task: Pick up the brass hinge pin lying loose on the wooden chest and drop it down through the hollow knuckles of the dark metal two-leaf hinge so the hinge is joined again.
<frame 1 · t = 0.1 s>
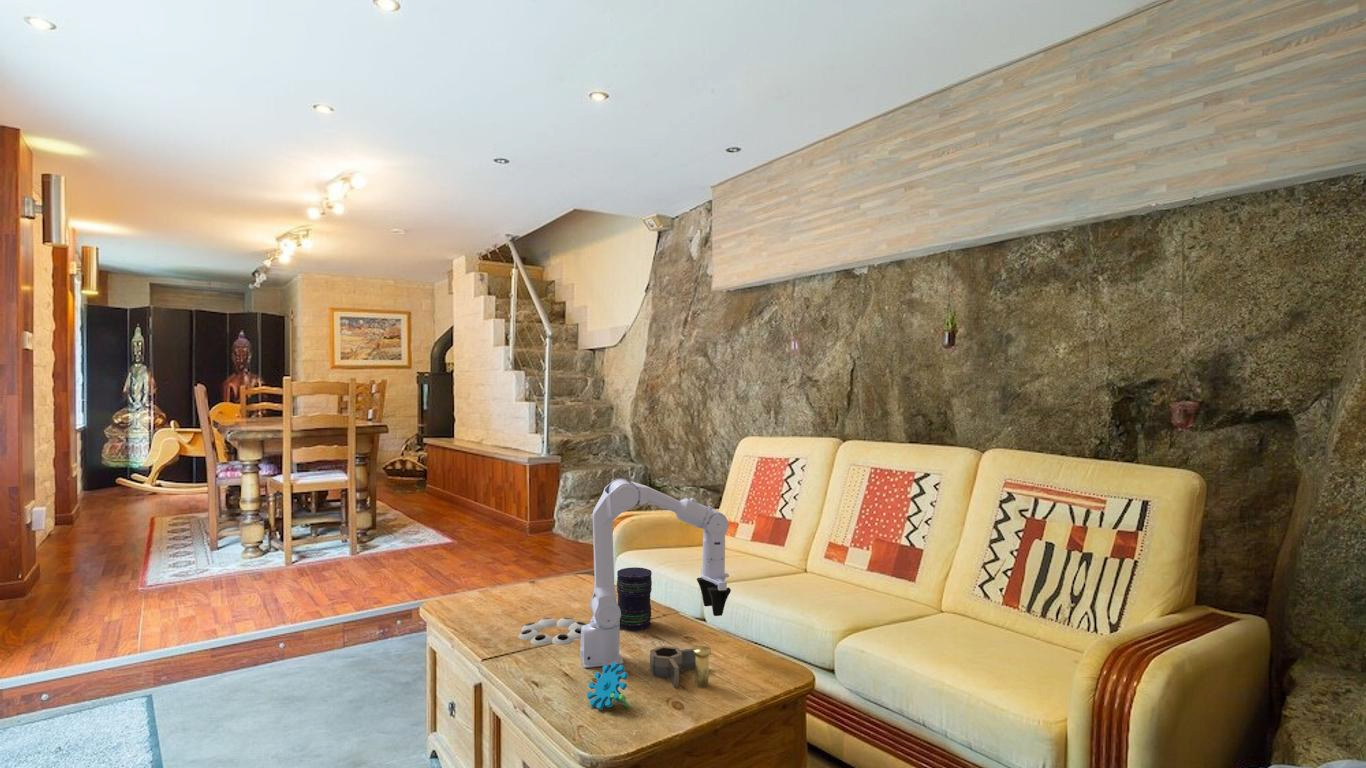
hand: (712, 610, 175), 10 cm above the table, tool pointing down, fingers open, 7 cm apart
storage jar: (633, 625, 192), on the table
hinge pin: (701, 684, 155), on the table
ring: (554, 634, 186), on the table
hinge: (666, 671, 162), on the table
gear: (608, 705, 145), on the table
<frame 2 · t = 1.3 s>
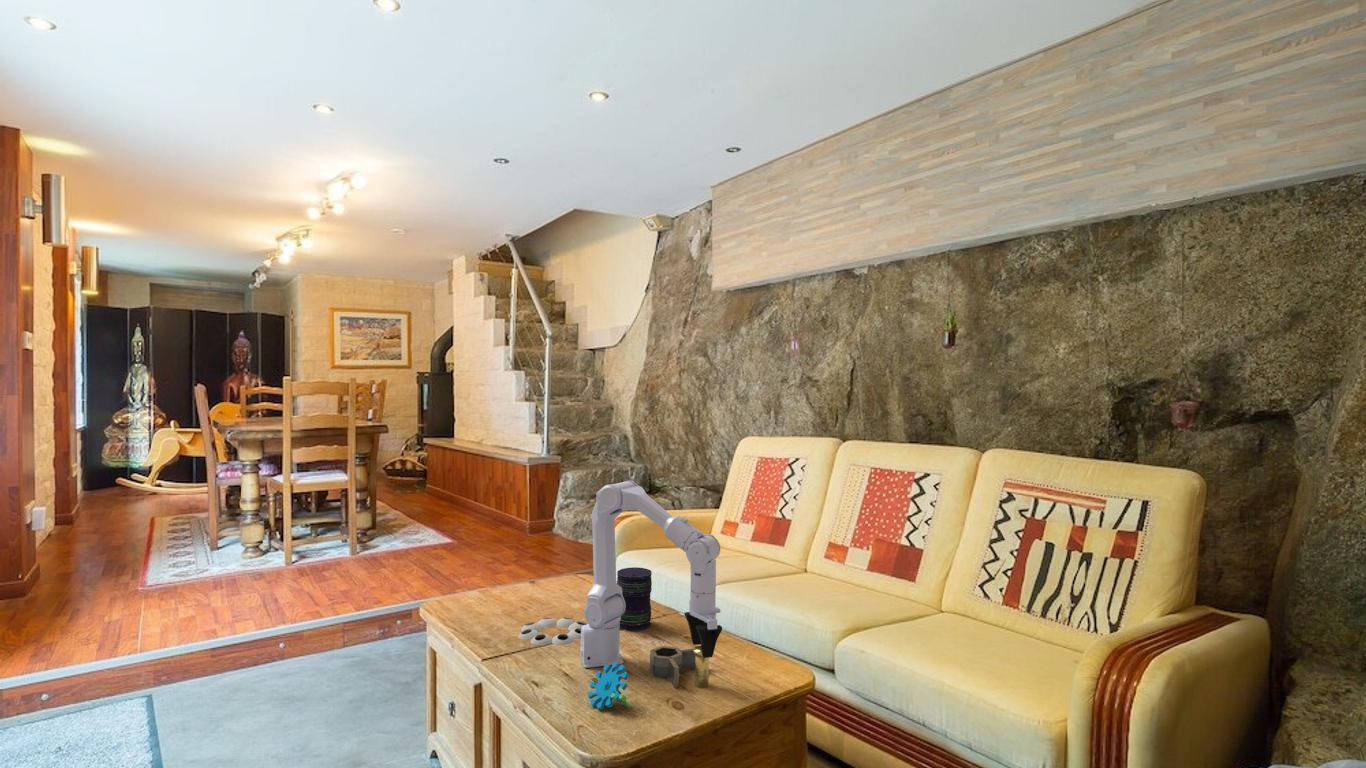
hand: (702, 650, 155), 8 cm above the table, tool pointing down, fingers open, 7 cm apart
nothing on the table moved.
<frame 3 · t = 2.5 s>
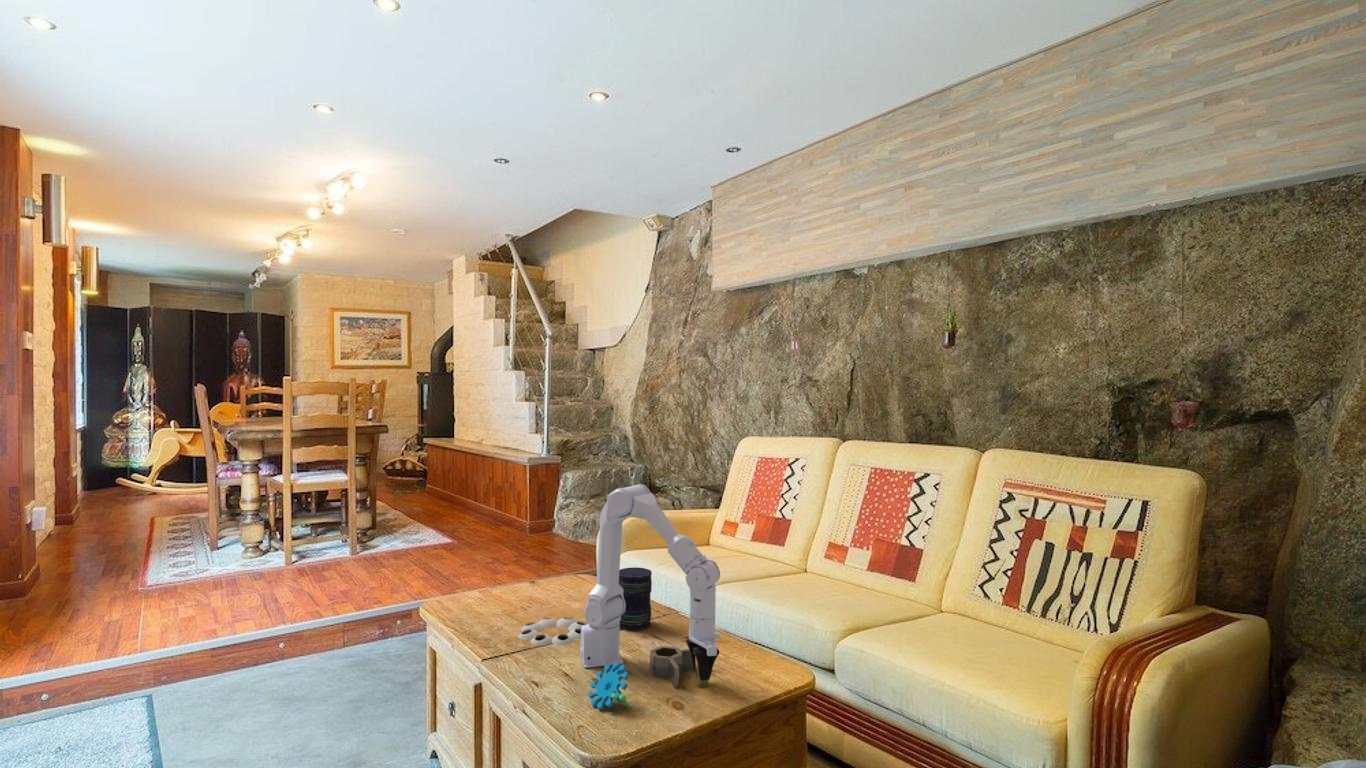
hand: (701, 675, 155), 2 cm above the table, tool pointing down, fingers closed on hinge pin, 4 cm apart
hinge pin: (701, 684, 155), on the table, touching gripper
everything else where it was.
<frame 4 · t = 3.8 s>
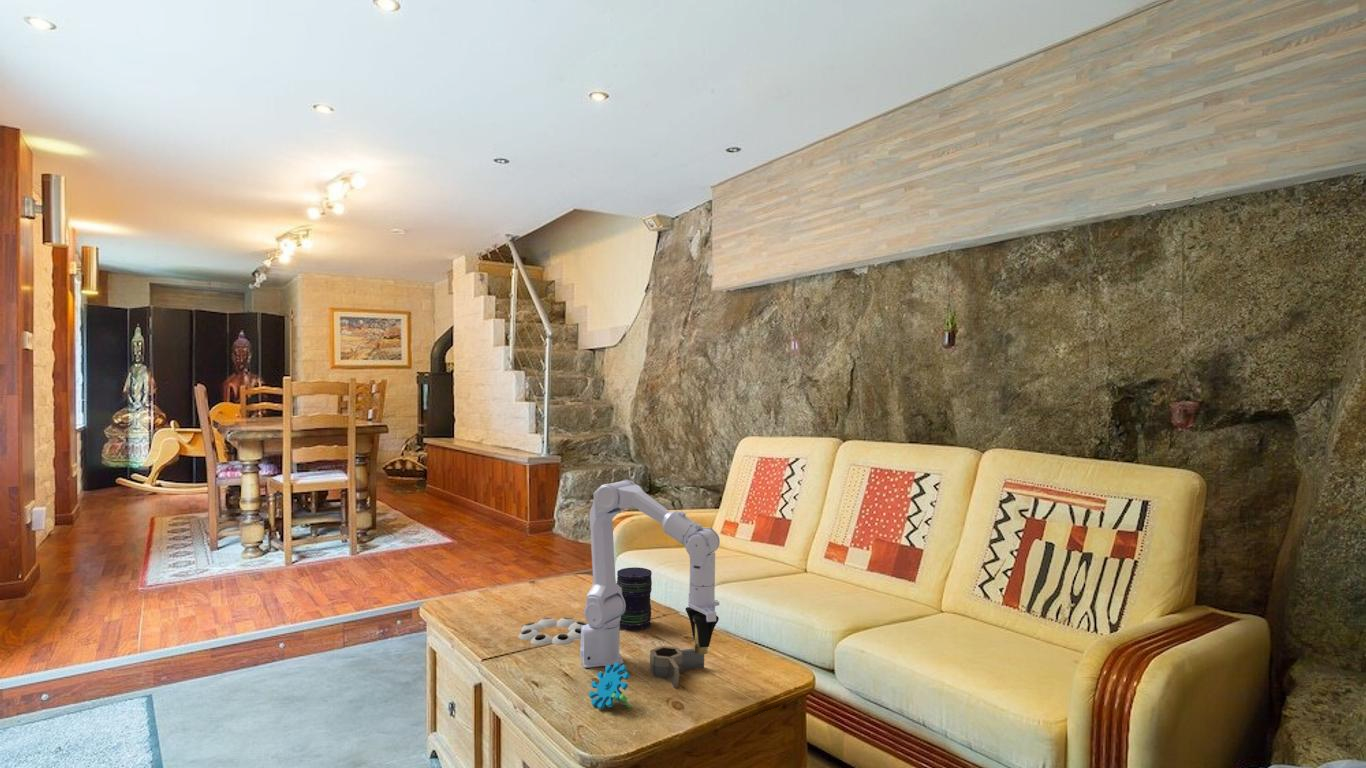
hand: (701, 643, 155), 9 cm above the table, tool pointing down, fingers closed on hinge pin, 4 cm apart
hinge pin: (701, 651, 155), point 7 cm above the table, touching gripper
everything else where it was.
when the fingers open (7 cm above the table, at t = 5.3 s): hinge pin drops 5 cm, resting in hinge.
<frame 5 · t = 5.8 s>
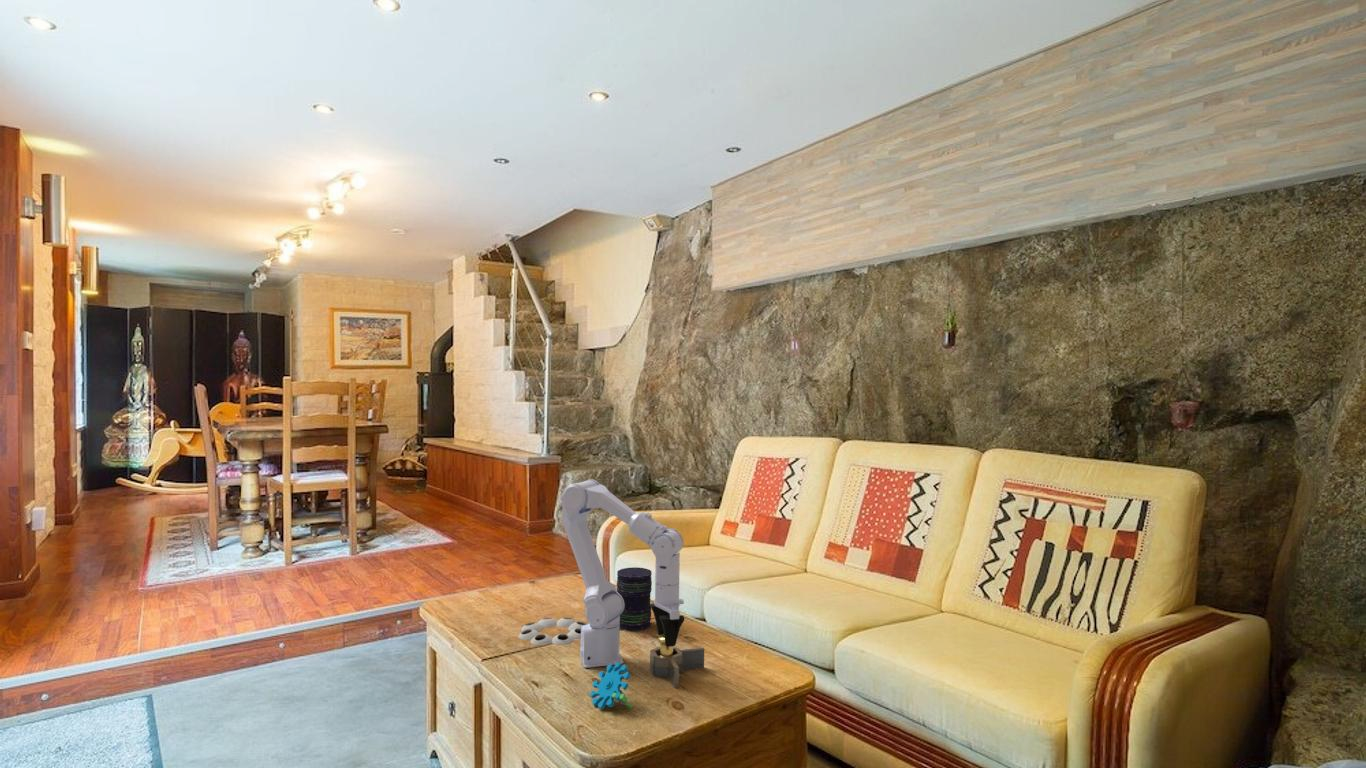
hand: (666, 639, 162), 7 cm above the table, tool pointing down, fingers open, 7 cm apart
hinge pin: (666, 671, 162), resting in hinge
everything else where it was.
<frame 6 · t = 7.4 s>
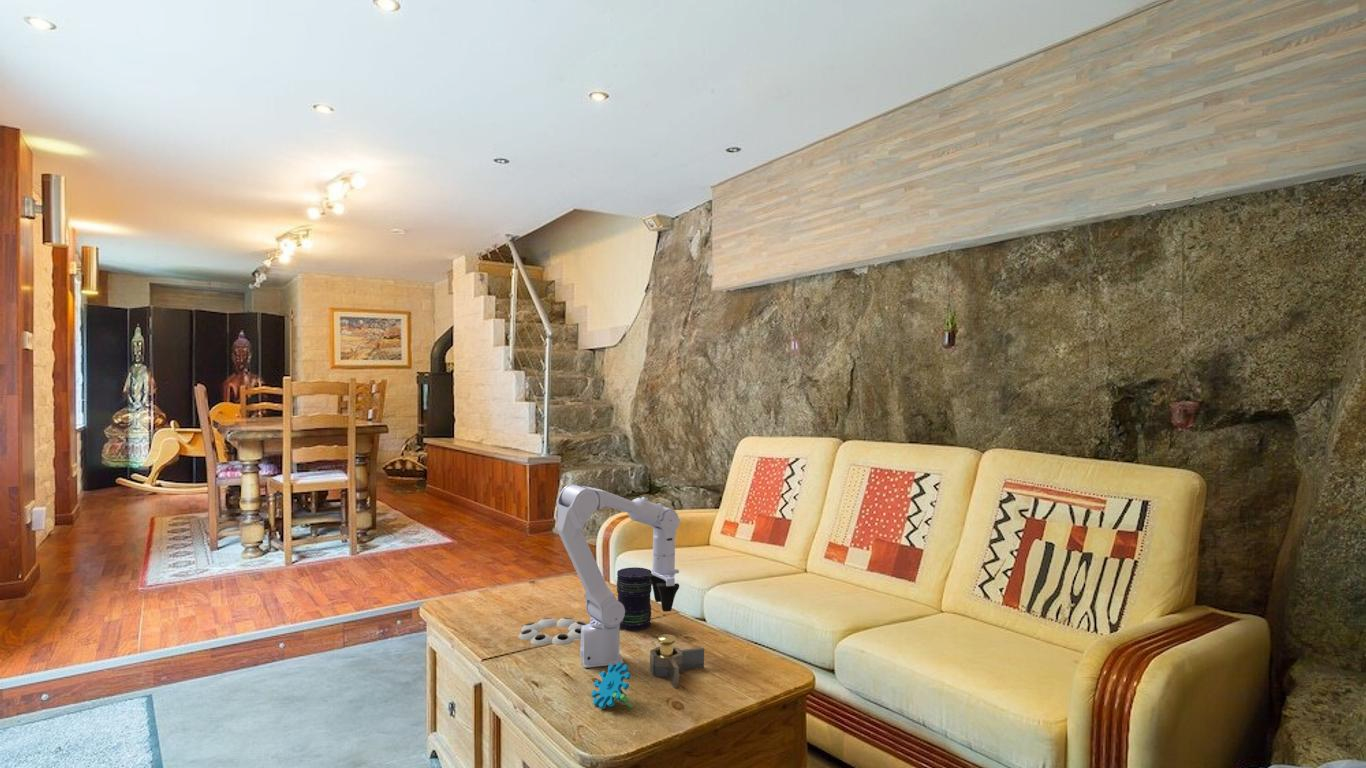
hand: (663, 606, 177), 10 cm above the table, tool pointing down, fingers open, 7 cm apart
nothing on the table moved.
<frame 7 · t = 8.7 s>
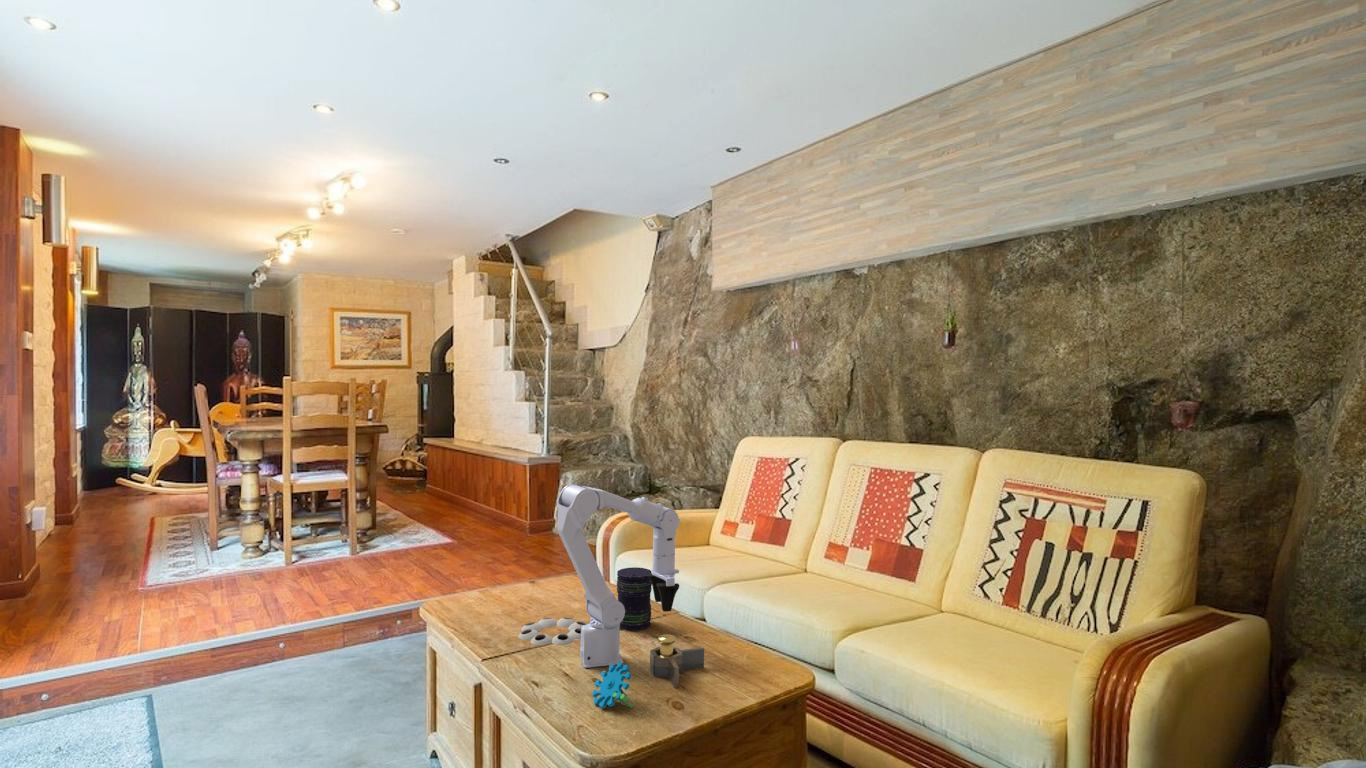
hand: (663, 606, 177), 10 cm above the table, tool pointing down, fingers open, 7 cm apart
nothing on the table moved.
at the end: hinge pin 0.1 cm from the hinge (horizontally); hinge pin resting in hinge; hinge pin tilted 0° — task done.
